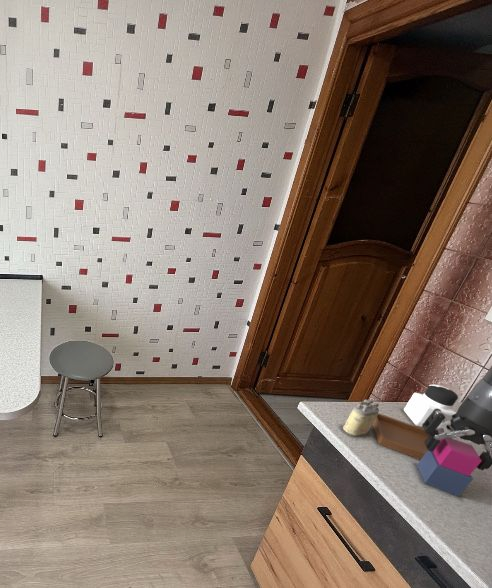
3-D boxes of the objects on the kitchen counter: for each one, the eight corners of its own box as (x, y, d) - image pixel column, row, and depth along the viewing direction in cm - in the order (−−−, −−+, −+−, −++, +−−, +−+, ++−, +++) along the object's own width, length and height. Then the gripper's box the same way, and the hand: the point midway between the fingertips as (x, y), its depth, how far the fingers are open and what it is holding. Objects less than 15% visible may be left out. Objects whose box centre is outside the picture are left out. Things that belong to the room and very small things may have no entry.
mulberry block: (460, 460, 78) (471, 445, 76) (469, 476, 74) (482, 460, 72) (432, 450, 80) (442, 435, 78) (439, 465, 76) (451, 449, 74)
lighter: (357, 423, 95) (373, 396, 91) (371, 434, 92) (388, 406, 88) (339, 427, 94) (354, 400, 89) (352, 438, 90) (368, 410, 86)
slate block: (448, 477, 81) (462, 460, 78) (458, 496, 76) (473, 479, 74) (416, 465, 84) (428, 448, 81) (424, 483, 79) (437, 465, 76)
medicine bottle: (445, 433, 95) (469, 401, 90) (415, 426, 97) (437, 393, 92) (430, 416, 101) (451, 385, 96) (402, 409, 103) (421, 378, 98)
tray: (433, 438, 92) (436, 433, 92) (449, 470, 83) (454, 465, 82) (370, 416, 99) (373, 411, 98) (378, 444, 89) (382, 438, 88)
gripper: (533, 408, 70) (487, 461, 77) (443, 381, 76) (408, 433, 83) (555, 430, 64) (504, 486, 71) (456, 399, 70) (417, 453, 77)
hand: (452, 457), depth 77 cm, fingers open, 8 cm apart
